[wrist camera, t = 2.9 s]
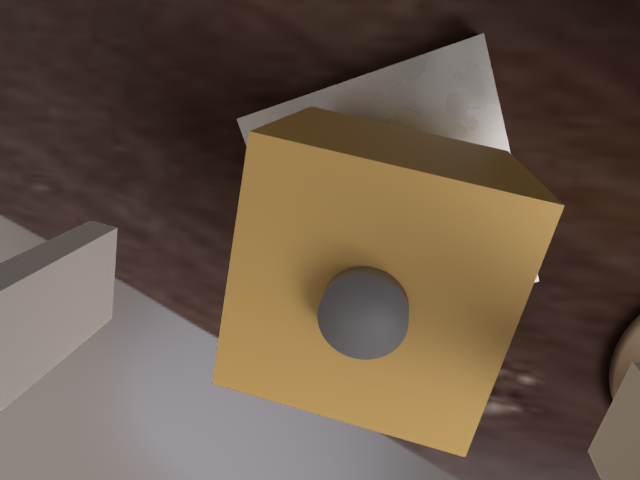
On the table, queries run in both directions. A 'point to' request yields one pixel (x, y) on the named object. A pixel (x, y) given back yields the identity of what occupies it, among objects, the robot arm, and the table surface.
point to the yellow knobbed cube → (379, 273)
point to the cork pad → (624, 355)
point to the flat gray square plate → (415, 97)
